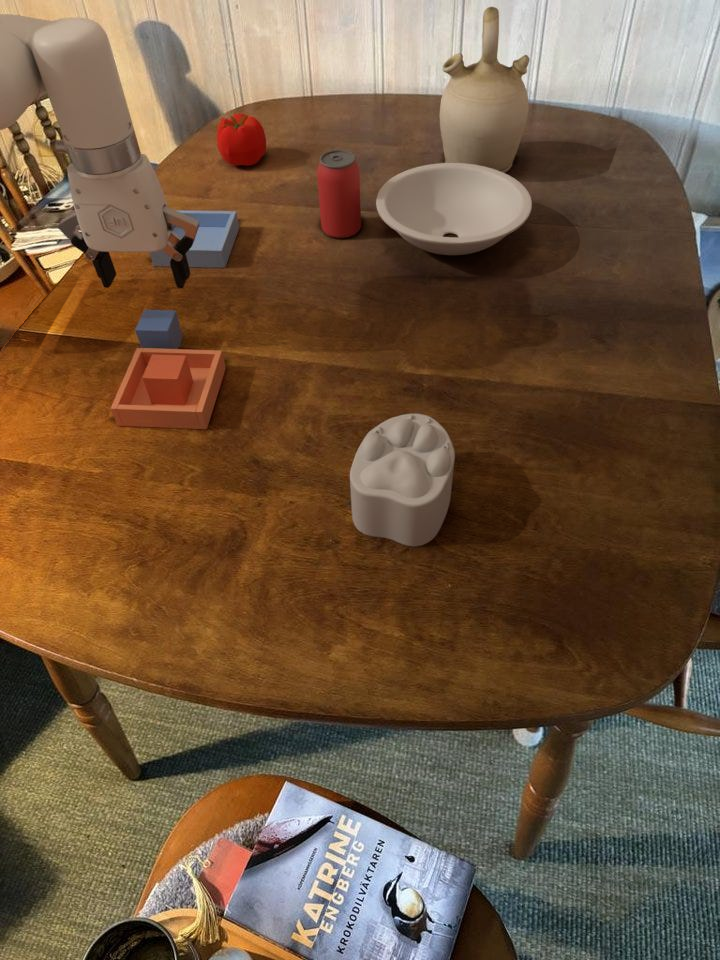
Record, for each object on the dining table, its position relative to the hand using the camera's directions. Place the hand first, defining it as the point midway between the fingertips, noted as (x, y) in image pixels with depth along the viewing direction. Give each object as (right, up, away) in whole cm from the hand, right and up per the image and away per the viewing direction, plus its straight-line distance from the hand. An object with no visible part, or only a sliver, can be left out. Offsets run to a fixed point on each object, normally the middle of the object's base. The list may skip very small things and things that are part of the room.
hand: (146, 281), depth 93 cm
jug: (+49, +32, +39) cm, 71 cm away
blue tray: (+1, +12, +24) cm, 27 cm away
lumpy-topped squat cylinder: (+33, -28, -11) cm, 44 cm away
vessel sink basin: (+42, +13, +24) cm, 50 cm away
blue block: (0, -7, +8) cm, 11 cm away
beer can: (+25, +16, +26) cm, 39 cm away
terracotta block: (+3, -14, +1) cm, 15 cm away
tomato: (+6, +34, +43) cm, 55 cm away
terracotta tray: (+3, -15, +1) cm, 15 cm away
